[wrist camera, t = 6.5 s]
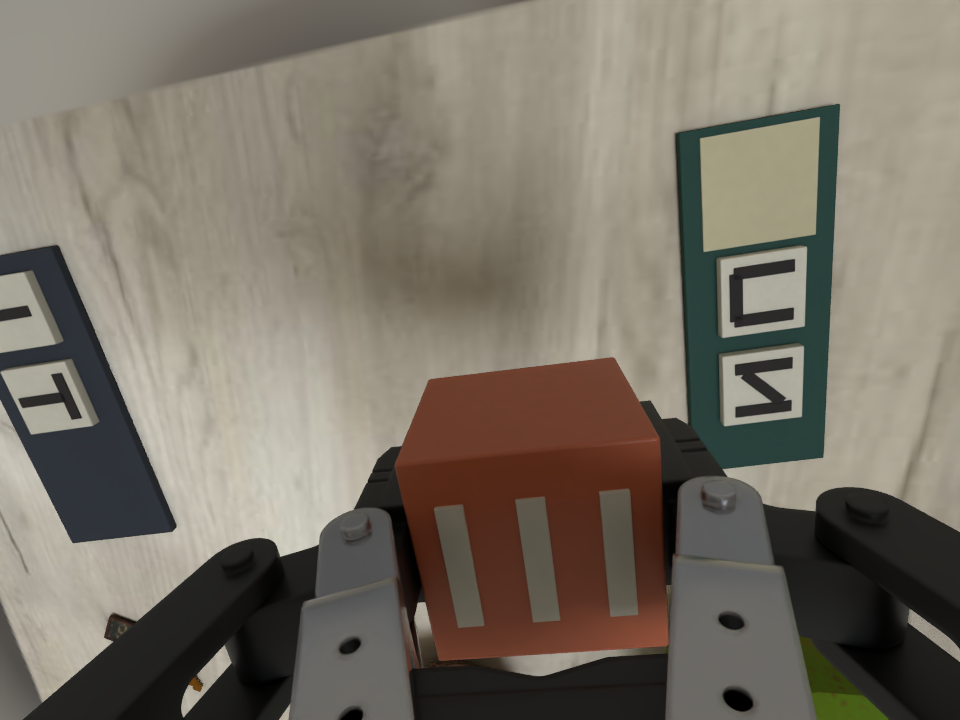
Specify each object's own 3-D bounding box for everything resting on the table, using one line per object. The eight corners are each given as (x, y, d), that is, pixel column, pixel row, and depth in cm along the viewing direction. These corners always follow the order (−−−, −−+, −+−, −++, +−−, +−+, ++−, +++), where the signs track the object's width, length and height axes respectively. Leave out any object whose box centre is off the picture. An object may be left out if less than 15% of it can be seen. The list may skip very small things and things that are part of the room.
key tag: (98, 631, 37) (92, 639, 37) (116, 606, 36) (110, 613, 36) (200, 690, 39) (196, 698, 38) (220, 667, 38) (216, 675, 37)
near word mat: (675, 133, 25) (683, 131, 24) (833, 104, 24) (850, 101, 23) (690, 467, 30) (697, 479, 29) (818, 453, 30) (830, 464, 29)
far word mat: (-58, 266, 29) (-81, 269, 28) (58, 245, 28) (39, 248, 27) (78, 538, 35) (63, 550, 34) (177, 527, 34) (165, 539, 33)
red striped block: (428, 378, 13) (392, 467, 9) (614, 356, 12) (662, 438, 8) (457, 531, 14) (437, 666, 10) (626, 517, 14) (671, 651, 10)
